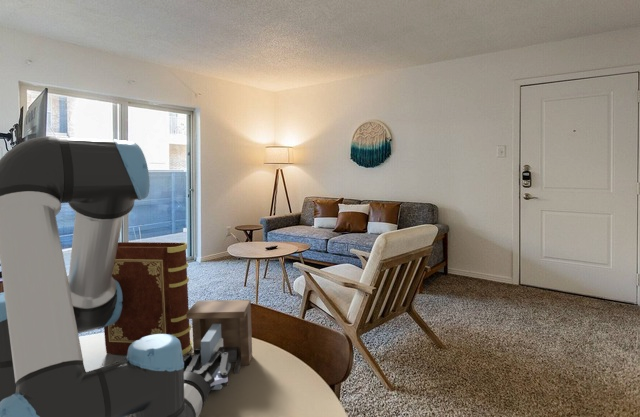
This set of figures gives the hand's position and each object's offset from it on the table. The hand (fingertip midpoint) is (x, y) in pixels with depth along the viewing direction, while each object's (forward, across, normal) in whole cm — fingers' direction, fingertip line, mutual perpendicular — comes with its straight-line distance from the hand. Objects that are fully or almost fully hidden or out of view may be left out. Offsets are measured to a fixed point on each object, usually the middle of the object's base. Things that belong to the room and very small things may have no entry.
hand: (216, 343), depth 92 cm
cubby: (+5, 0, -8) cm, 10 cm away
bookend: (-4, 0, -7) cm, 7 cm away
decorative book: (+15, -22, -8) cm, 28 cm away
